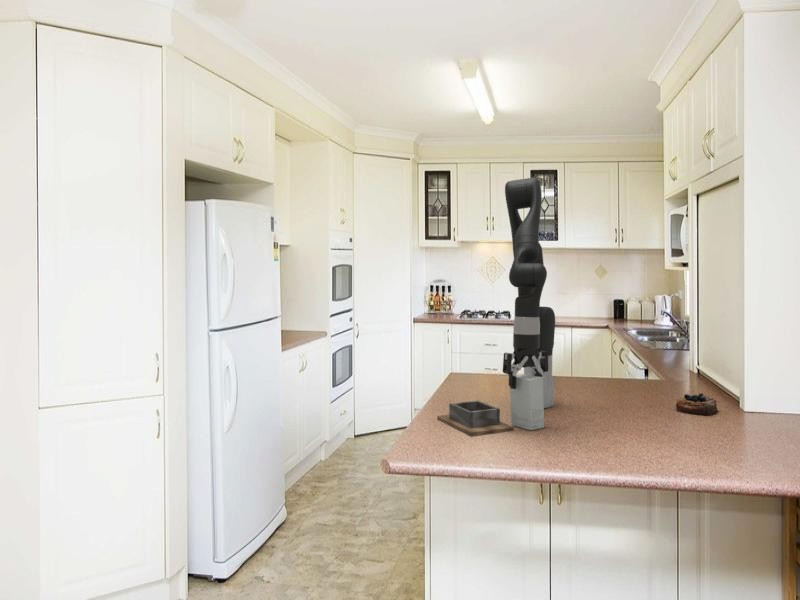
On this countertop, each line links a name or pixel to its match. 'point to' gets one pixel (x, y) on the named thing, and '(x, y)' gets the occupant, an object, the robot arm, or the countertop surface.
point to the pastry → (697, 405)
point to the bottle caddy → (475, 418)
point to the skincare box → (527, 402)
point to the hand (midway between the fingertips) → (525, 387)
